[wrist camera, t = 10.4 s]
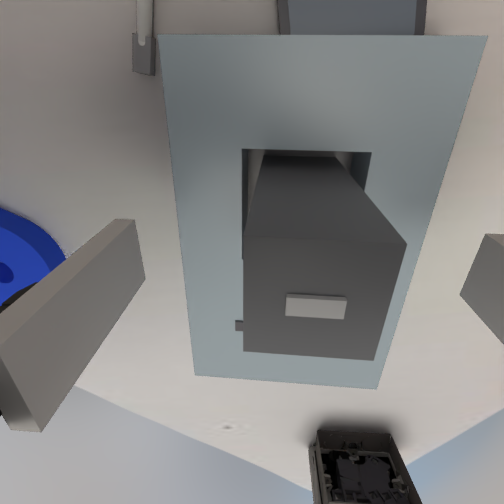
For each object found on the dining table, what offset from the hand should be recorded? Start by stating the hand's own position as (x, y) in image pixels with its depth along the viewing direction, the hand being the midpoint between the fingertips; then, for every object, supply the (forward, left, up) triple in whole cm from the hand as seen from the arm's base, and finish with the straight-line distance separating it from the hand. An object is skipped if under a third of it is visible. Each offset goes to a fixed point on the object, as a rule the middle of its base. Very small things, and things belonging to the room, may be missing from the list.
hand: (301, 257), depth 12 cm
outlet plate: (0, -3, -9) cm, 10 cm away
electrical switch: (+8, -27, -10) cm, 30 cm away
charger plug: (0, 0, -9) cm, 9 cm away
